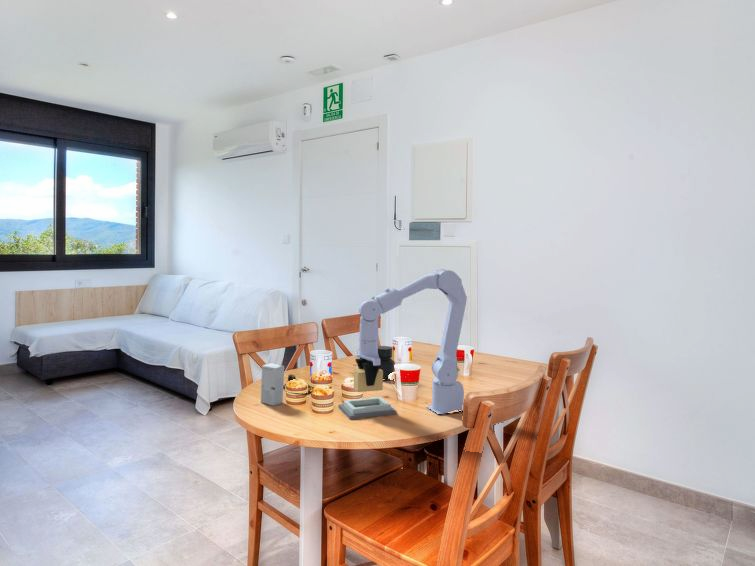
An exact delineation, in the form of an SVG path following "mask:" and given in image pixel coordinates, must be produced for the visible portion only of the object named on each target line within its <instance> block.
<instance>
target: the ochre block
mask: <svg viewBox="0 0 755 566" xmlns="http://www.w3.org/2000/svg"><path fill="white" fill-rule="evenodd" d="M383 381H384V380H383V370H381V369H379V371H378V373H377V376H376V380H375V383H374V385H373V386H367V384H366V375H365V370H364V369H359V368H356V369H355V368H354V369H353V390H355V391H356V392H357V393H364V392H375V391H376V392H377V391H383V388H384V387H383V386H384V385H383V384H384V383H383Z"/></svg>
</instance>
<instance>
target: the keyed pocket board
mask: <svg viewBox="0 0 755 566" xmlns="http://www.w3.org/2000/svg"><path fill="white" fill-rule="evenodd" d="M337 406H338V409H339V410H340V411H341V413H343V415H345V416H346V417H347V418H348V419H349V420H357V419H363V418H364V419H365V418H375V417H382V416H389V415H390V414H392V415H397V410H396V409H395V408H394V407H392V404H391V403H390V402H388V401H386V400H385V399H384V398H382V397H380V396H377V397H367V398H357V399H350V400H349V399H348V400H347V399H346V400H343V404H341V403H340V404H337ZM390 416H391V415H390Z"/></svg>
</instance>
